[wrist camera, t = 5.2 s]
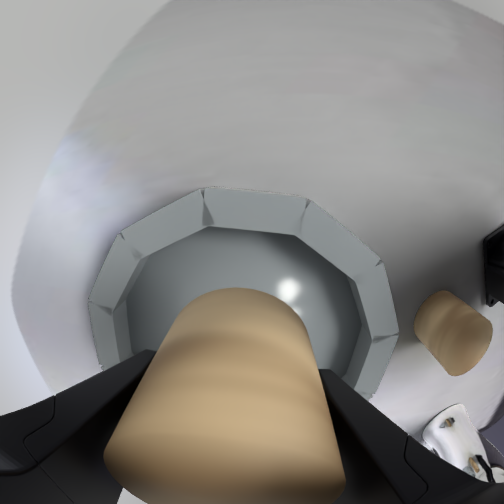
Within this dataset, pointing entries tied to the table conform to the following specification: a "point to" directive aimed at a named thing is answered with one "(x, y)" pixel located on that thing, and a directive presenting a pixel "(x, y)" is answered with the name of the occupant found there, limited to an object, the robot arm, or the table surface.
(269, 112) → the table surface
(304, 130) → the table surface
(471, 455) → the beer glass
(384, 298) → the tray
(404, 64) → the table surface
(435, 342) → the bead
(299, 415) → the bead
